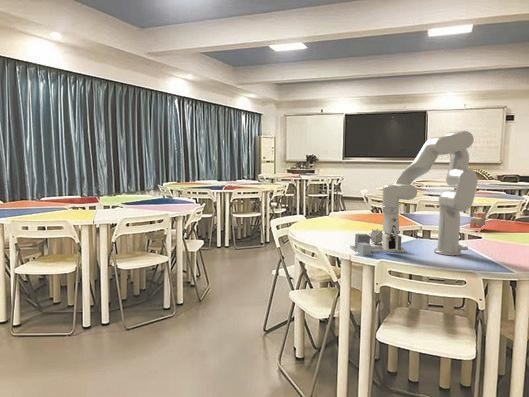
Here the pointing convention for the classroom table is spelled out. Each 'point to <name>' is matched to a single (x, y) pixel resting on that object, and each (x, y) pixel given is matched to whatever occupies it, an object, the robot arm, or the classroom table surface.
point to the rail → (366, 239)
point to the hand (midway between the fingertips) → (389, 247)
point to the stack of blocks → (478, 220)
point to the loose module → (386, 242)
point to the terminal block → (364, 249)
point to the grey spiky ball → (376, 236)
